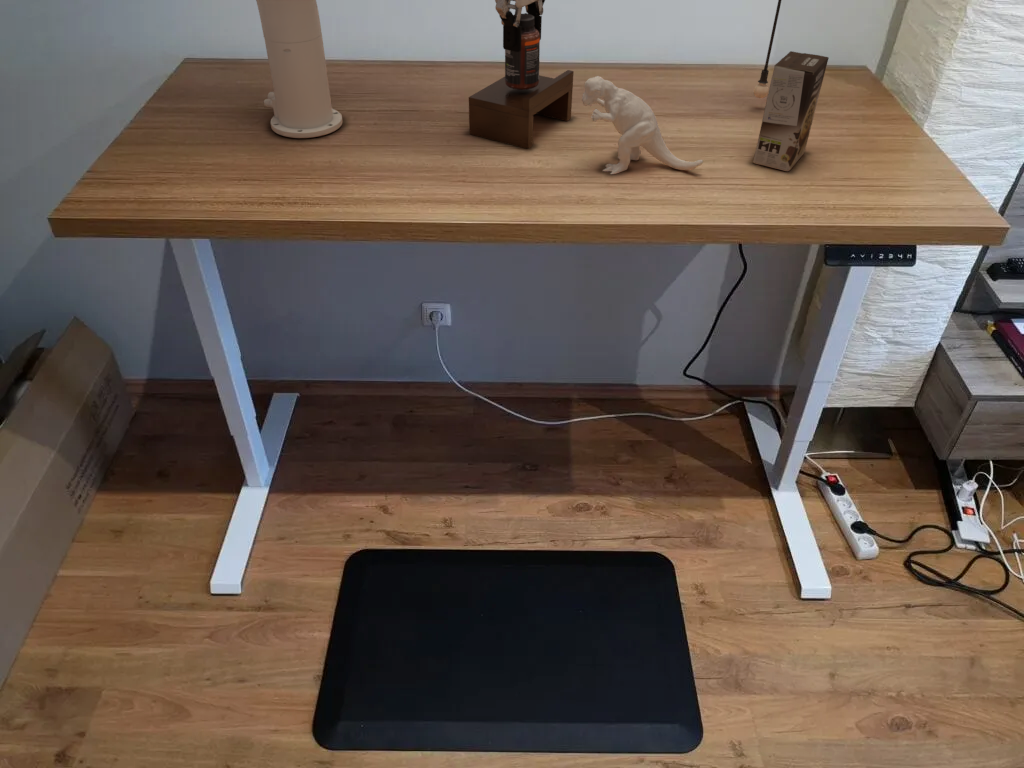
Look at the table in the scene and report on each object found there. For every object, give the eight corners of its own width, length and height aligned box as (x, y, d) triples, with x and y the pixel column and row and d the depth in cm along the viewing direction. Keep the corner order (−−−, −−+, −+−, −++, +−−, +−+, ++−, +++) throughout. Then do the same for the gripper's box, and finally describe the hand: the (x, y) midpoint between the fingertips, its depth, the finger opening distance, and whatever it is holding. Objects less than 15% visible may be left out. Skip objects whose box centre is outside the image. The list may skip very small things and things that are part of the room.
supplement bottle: (544, 82, 142) (546, 14, 134) (530, 93, 137) (532, 23, 130) (513, 77, 144) (514, 9, 136) (499, 87, 139) (499, 18, 132)
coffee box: (789, 172, 131) (814, 72, 121) (751, 163, 134) (772, 64, 124) (805, 153, 137) (830, 56, 127) (769, 144, 140) (790, 48, 130)
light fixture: (732, 107, 153) (759, -38, 137) (755, 99, 156) (784, -43, 140) (759, 118, 149) (790, -30, 133) (782, 110, 152) (816, -35, 136)
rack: (469, 134, 142) (468, 85, 137) (515, 105, 153) (515, 59, 147) (528, 148, 138) (529, 99, 132) (571, 118, 148) (573, 70, 143)
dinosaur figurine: (575, 172, 131) (581, 80, 121) (583, 148, 138) (589, 60, 129) (700, 184, 128) (716, 91, 118) (701, 159, 135) (716, 69, 126)
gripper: (530, -87, 132) (528, 28, 143) (473, -69, 120) (476, 55, 132) (571, -82, 129) (565, 35, 140) (517, -63, 117) (515, 63, 129)
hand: (522, 43), depth 136 cm, fingers closed on supplement bottle, 6 cm apart
